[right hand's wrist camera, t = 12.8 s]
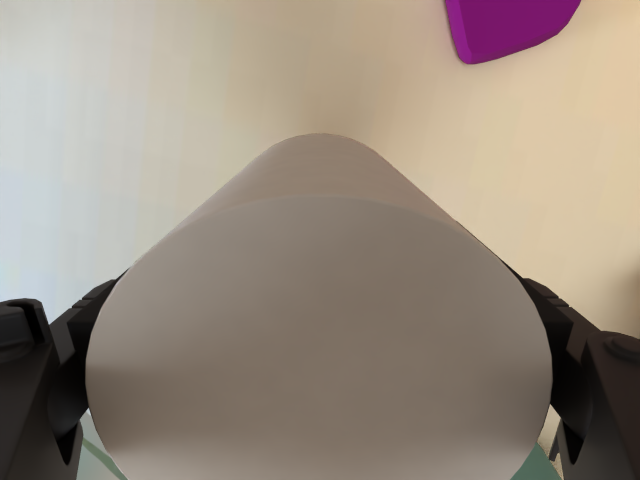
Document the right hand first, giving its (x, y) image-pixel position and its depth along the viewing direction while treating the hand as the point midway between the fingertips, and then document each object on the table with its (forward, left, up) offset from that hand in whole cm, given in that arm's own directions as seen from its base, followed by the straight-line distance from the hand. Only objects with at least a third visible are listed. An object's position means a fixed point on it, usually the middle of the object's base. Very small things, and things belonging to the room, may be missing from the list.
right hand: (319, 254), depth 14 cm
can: (0, 0, -3) cm, 3 cm away
